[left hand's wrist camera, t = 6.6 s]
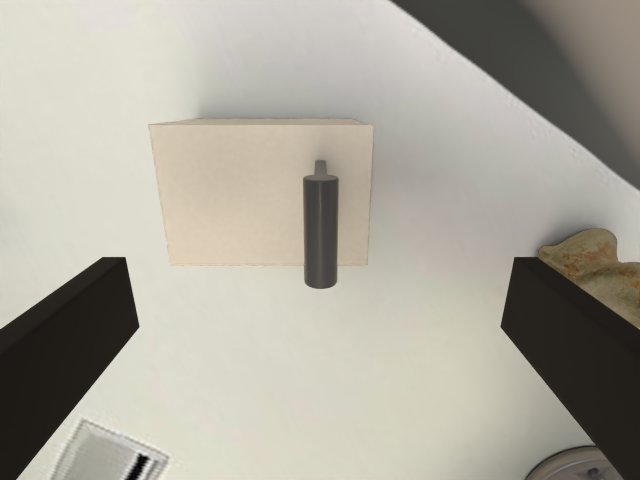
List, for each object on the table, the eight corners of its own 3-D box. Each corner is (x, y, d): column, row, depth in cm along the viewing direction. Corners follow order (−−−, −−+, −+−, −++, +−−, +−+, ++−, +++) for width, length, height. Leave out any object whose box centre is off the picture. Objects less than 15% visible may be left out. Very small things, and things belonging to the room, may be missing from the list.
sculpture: (604, 267, 37) (775, 365, 23) (533, 287, 38) (657, 393, 24) (601, 215, 36) (785, 289, 22) (526, 237, 36) (656, 322, 22)
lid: (372, 123, 24) (398, 133, 16) (365, 259, 27) (384, 324, 19) (154, 123, 24) (72, 133, 16) (175, 260, 27) (116, 324, 19)
